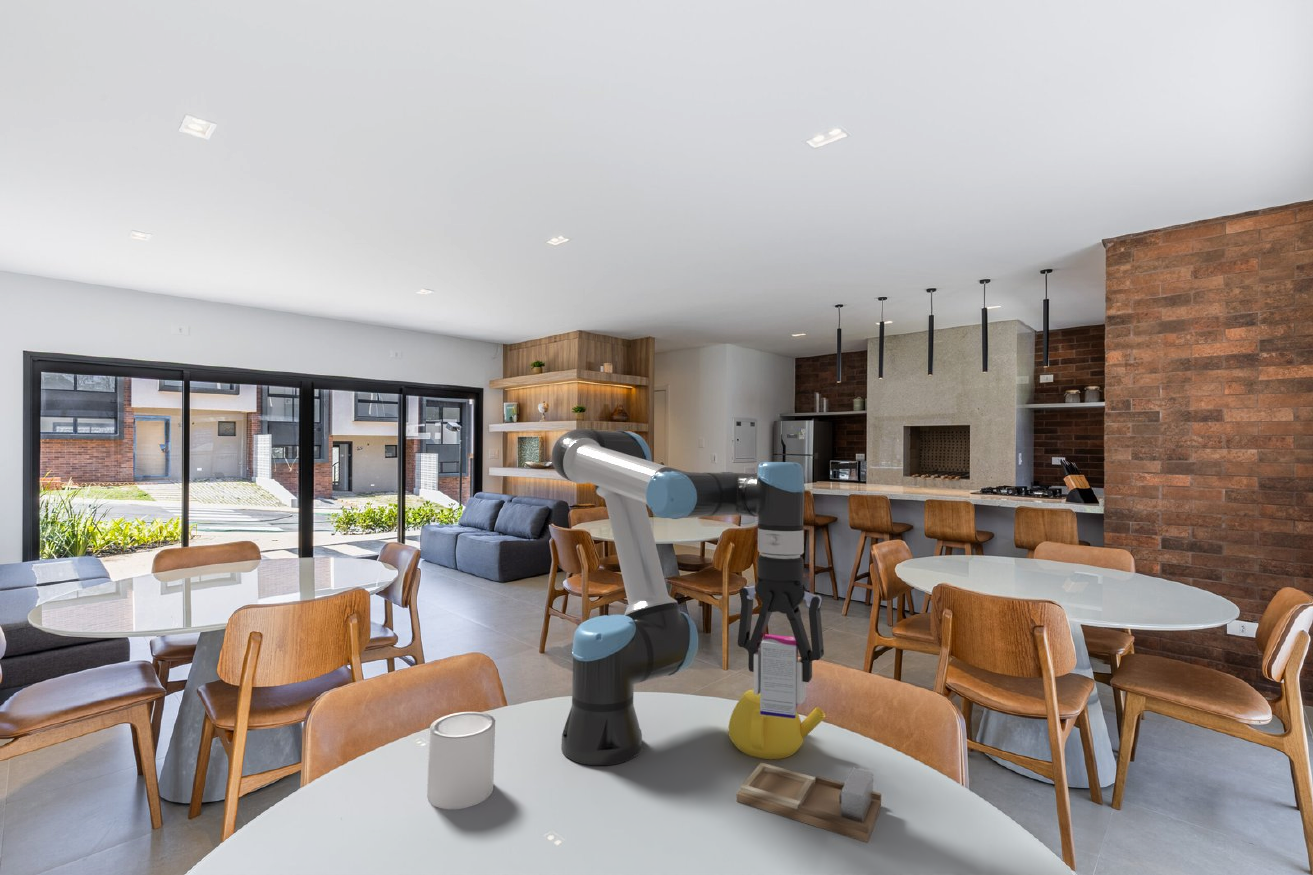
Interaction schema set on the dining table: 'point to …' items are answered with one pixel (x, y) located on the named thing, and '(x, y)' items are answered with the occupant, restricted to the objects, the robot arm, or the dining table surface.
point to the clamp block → (857, 795)
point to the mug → (461, 760)
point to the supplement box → (778, 676)
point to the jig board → (805, 800)
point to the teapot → (768, 729)
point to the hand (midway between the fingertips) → (779, 696)
